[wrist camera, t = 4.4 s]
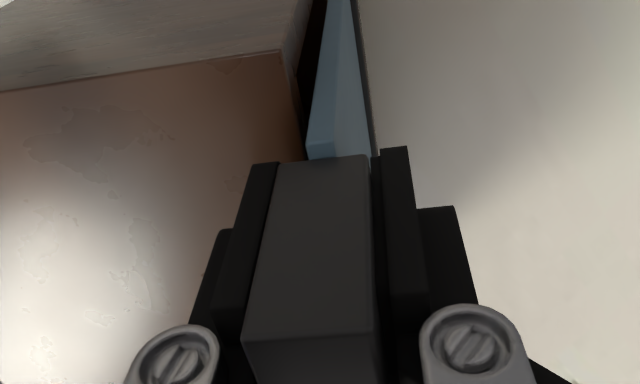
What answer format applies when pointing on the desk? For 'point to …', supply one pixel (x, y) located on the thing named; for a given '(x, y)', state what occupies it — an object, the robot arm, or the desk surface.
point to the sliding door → (321, 240)
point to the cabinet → (135, 162)
